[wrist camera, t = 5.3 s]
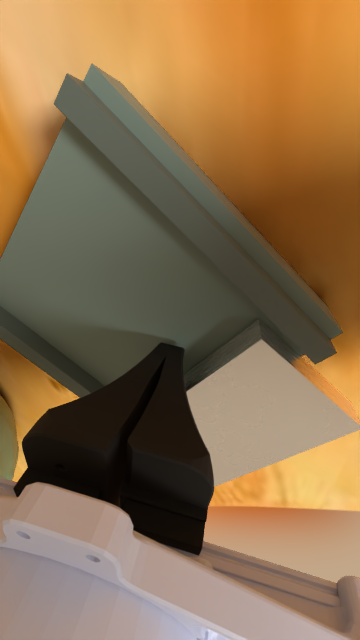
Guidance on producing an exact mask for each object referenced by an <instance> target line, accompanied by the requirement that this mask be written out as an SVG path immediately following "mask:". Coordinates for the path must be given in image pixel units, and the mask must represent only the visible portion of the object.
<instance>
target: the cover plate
mask: <svg viewBox="0 0 360 640" xmlns="http://www.w3.org/2000/svg"><path fill="white" fill-rule="evenodd" d="M184 382H185V388H186V393H187V398H188V401H189V405H190V408H191V412H192V415H193V417H194V420H195V423H196V425H197V428H198V430H199V433H200V435H201V437H202V439H203V441H204V444H205V446H206V447H207V449H208V451H209V453H210V457H211V462H212V468H213V476H214V487H215V486H217V485H220V484H222V483H225V482H227V481H230V480H233V479H235V478H238V477H240V476H243V475H245V474H248V473H250V472H253V471H255V470H258V469H261V468H263V467H266V466H268V465H271V464H273V463H276V462H278V461H281V460H284V459H286V458H289V457H291V456H294V455H296V454H299V453H301V452H304V451H307V450H309V449H312V448H314V447H317V446H319V445H322V444H324V443H327V442H330V441H332V440H335V439H337V438H340V437H342V436H345V435H347V434H350V433H353V432H355V431H358V430H360V420H359V418H358V416H357V414H356V412H355V410H354V408H353V406H352V403H351V401H349V400H348V399H347V398H346V397H345V396H344V395H343V394H342V393H341V392H339V391H338V390H337V389H336V388H335V387H334V386H333V385H332V384H331V383H329V382H328V381H327V380H326V379H325V378H324V377H323V376H322V375H321V374H319V373H318V372H317V371H316V370H315V369H314V368H313V367H312V366H311V365H310V364H308V363H307V362H306V361H305V360H304V359H303V358H302V357H301V356H300V355H298V354H297V353H296V352H295V351H294V350H293V349H292V348H291V347H290V346H288V345H287V344H286V343H285V342H284V341H283V340H282V339H281V338H280V337H278V336H277V335H276V334H275V333H274V332H273V331H272V330H271V329H270V328H268V327H267V326H266V325H265V324H264V323H263V322H262V321H261V320H260V319H257V320H256V321H255V322H253V323H252V324H251V325H249V326H248V327H247V328H245V329H244V330H243V331H242V332H240V333H239V334H238V335H236V336H235V337H234V338H232V339H231V340H230V341H228V342H227V343H226V344H224V345H223V346H222V347H220V348H219V349H218V350H216V351H215V352H214V353H212V354H211V355H210V356H208V357H207V358H206V359H204V360H203V361H202V362H200V363H199V364H198V365H196V366H195V367H194V368H192V369H191V370H190V371H188V372H187V373H186V374H184Z"/></svg>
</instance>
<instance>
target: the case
mask: <svg viewBox="0 0 360 640" xmlns="http://www.w3.org/2000/svg"><path fill="white" fill-rule="evenodd" d="M54 105H55V106H56V107H57V108H58V109H59V110H60V111H61V112H62V113H63V114H64V115H65V116H66V120H65V122H64V124H63V126H62V128H61V130H60V132H59V135H58V137H57V139H56V141H55V143H54V145H53V147H52V150H51V152H50V154H49V156H48V158H47V160H46V162H45V165H44V167H43V169H42V171H41V173H40V175H39V177H38V179H37V182H36V184H35V186H34V188H33V190H32V192H31V194H30V197H29V199H28V201H27V203H26V205H25V207H24V209H23V212H22V214H21V216H20V218H19V220H18V222H17V224H16V227H15V229H14V231H13V233H12V235H11V237H10V239H9V242H8V244H7V246H6V248H5V250H4V252H3V254H2V257H1V259H0V339H1V340H2V341H4V342H5V343H7V344H8V345H9V346H11V347H12V348H13V349H15V350H16V351H17V352H19V353H20V354H21V355H23V356H24V357H26V358H27V359H28V360H30V361H31V362H32V363H34V364H35V365H36V366H38V367H39V368H40V369H42V370H43V371H44V372H46V373H47V374H49V375H50V376H51V377H53V378H54V379H55V380H57V381H58V382H59V383H61V384H62V385H63V386H65V387H66V388H68V389H69V390H70V391H72V392H73V393H74V394H76V395H77V396H78V397H80V398H82V397H84V396H86V395H88V394H91V393H93V392H95V391H97V390H99V389H100V388H102V387H104V386H106V385H108V384H109V383H111V382H113V381H114V380H116V379H117V378H119V377H120V376H122V375H123V374H125V373H126V372H127V371H129V370H130V369H131V368H133V367H134V366H135V365H137V364H138V363H139V362H140V361H141V360H142V359H144V358H145V357H146V356H147V355H148V354H149V353H150V352H151V351H152V350H153V349H154V348H155V347H156V346H157V345H158V344H159V343H161V342H162V343H166V344H170V345H174V346H179V347H183V348H184V349H185V352H184V357H183V373H184V374H186V373H187V372H188V371H190V370H191V369H192V368H194V367H195V366H196V365H198V364H199V363H200V362H202V361H203V360H204V359H206V358H207V357H208V356H210V355H211V354H212V353H214V352H215V351H216V350H218V349H219V348H220V347H222V346H223V345H224V344H226V343H227V342H228V341H230V340H231V339H232V338H234V337H235V336H236V335H238V334H239V333H240V332H242V331H243V330H244V329H245V328H247V327H248V326H249V325H251V324H252V323H253V322H255V321H256V320H257V319H260V320H261V321H262V322H263V323H264V324H265V325H266V326H267V327H268V328H270V329H271V330H272V331H273V332H274V333H275V334H276V335H277V336H278V337H280V338H281V339H282V340H283V341H284V342H285V343H286V344H287V345H288V346H290V347H291V348H292V349H293V350H294V351H295V352H296V353H297V354H298V355H300V356H303V355H307V356H308V357H309V358H310V359H311V360H312V361H313V362H314V363H315V364H317V363H319V362H321V361H323V360H324V359H326V358H328V357H330V356H332V355H334V354H336V353H337V352H336V350H335V348H334V346H333V344H332V342H331V339H332V338H334V337H336V336H338V335H339V334H341V333H343V331H342V330H341V328H340V326H339V325H338V323H337V321H336V320H335V318H334V316H333V314H332V313H331V311H330V309H329V308H328V306H327V305H326V304H325V303H324V302H323V301H322V300H321V299H320V298H319V296H318V295H317V294H316V293H315V292H314V291H313V290H312V289H311V288H310V287H309V286H308V285H307V284H306V282H305V281H304V280H303V279H302V278H301V277H300V276H299V275H298V274H297V273H296V272H295V271H294V269H293V268H292V267H291V266H290V265H289V264H288V263H287V262H286V261H285V260H284V259H283V258H282V256H281V255H280V254H279V253H278V252H277V251H276V250H275V249H274V248H273V247H272V246H271V245H270V243H269V242H268V241H267V240H266V239H265V238H264V237H263V236H262V235H261V234H260V233H259V232H258V230H257V229H256V228H255V227H254V226H253V225H252V224H251V223H250V222H249V221H248V220H247V219H246V218H245V216H244V215H243V214H242V213H241V212H240V211H239V210H238V209H237V208H236V207H235V206H234V205H233V203H232V202H231V201H230V200H229V199H228V198H227V197H226V196H225V195H224V194H223V193H222V192H221V190H220V189H219V188H218V187H217V186H216V185H215V184H214V183H213V182H212V181H211V180H210V179H209V177H208V176H207V175H206V174H205V173H204V172H203V171H202V170H201V169H200V168H199V167H198V166H197V164H196V163H195V162H194V161H193V160H192V159H191V158H190V157H189V156H188V155H187V154H186V153H185V152H184V150H183V149H182V148H181V147H180V146H179V145H178V144H177V143H176V142H175V141H174V140H173V139H172V137H171V136H170V135H169V134H168V133H167V132H166V131H165V130H164V129H163V128H162V127H161V126H160V124H159V123H158V122H157V121H156V120H155V119H154V118H153V117H152V116H151V115H150V114H149V113H148V111H147V110H146V109H145V108H144V107H143V106H142V105H141V104H140V103H139V102H138V101H137V100H136V98H135V97H134V96H133V95H132V94H131V93H130V92H129V91H128V90H127V89H126V88H125V87H124V86H123V84H122V83H121V82H119V81H118V80H116V79H115V78H113V77H111V76H110V75H108V74H107V73H105V72H104V71H102V70H101V69H99V68H98V67H96V66H95V65H93V64H91V66H90V68H89V70H88V72H87V75H86V77H85V79H84V81H81V80H79V79H77V78H75V77H73V76H71V75H69V74H66V77H65V79H64V81H63V84H62V86H61V88H60V91H59V93H58V95H57V98H56V100H55V102H54Z"/></svg>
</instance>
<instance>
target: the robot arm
mask: <svg viewBox="0 0 360 640" xmlns="http://www.w3.org/2000/svg"><path fill="white" fill-rule="evenodd" d="M184 352H185V349H184V348H183V347H179V346H174V345H170V344H166V343H162V342H161V343H159V344H158V345H157V346H156V347H155V348H154V349H153V350H152V351H151V352H150V353H149V354H148V355H147V356H146V357H145V358H144V359H142V360H141V361H140V362H139V363H138V364H137V365H135V366H134V367H133V368H131V369H130V370H129V371H127V372H126V373H125V374H123V375H122V376H120V377H119V378H117V379H116V380H114V381H113V382H111V383H109V384H108V385H106V386H104V387H102V388H100V389H99V390H97V391H95V392H93V393H91V394H88V395H86V396H84V397H82V398H79V399H77V400H74V401H72V402H69V403H66V404H63V405H60V406H57V407H54V408H51V409H49V410H48V411H47V412H46V413H45V414H44V415H43V416H42V417H41V418H40V419H39V420H38V421H37V422H36V423H35V425H34V426H33V427H32V428H31V430H30V431H29V432H28V433H27V435H26V436H25V437H24V439H23V441H22V448H23V452H24V455H25V459H26V462H27V465H28V468H27V470H26V471H25V472H24V474H23V475H22V477H21V478H20V479H19V481H18V482H14V481H11V480H8V479H5V478H1V477H0V640H360V578H359V577H354V576H345V577H342V578H341V579H340V580H339V581H338V582H337V583H334V582H331V581H328V580H325V579H321V578H319V577H315V576H312V575H309V574H306V573H302V572H299V571H296V570H293V569H290V568H287V567H283V566H280V565H277V564H274V563H271V562H268V561H264V560H261V559H258V558H255V557H252V556H248V555H246V554H242V553H239V552H236V551H233V550H229V549H226V548H223V547H220V546H217V545H214V544H210V543H207V542H204V541H203V537H204V528H205V522H206V519H207V510H208V506H209V503H210V501H211V498H212V496H213V492H214V476H213V468H212V462H211V457H210V453H209V451H208V449H207V447H206V446H205V444H204V441H203V439H202V437H201V435H200V433H199V430H198V428H197V425H196V423H195V420H194V417H193V415H192V412H191V408H190V405H189V401H188V398H187V393H186V388H185V382H184V373H183V357H184Z"/></svg>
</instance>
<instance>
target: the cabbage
mask: <svg viewBox="0 0 360 640" xmlns="http://www.w3.org/2000/svg"><path fill="white" fill-rule="evenodd" d="M18 451H19V447H18V441H17V431H16V425H15V420H14V416H13V414H12V411H11V409H10V408H9V406H8V405H7V403H6V402H5V400H4V399H3V398H2V396H1V395H0V477H1V478H5V479H8V480H11V481H12V479H13V477H14V471H15V468H16V464H17V459H18Z"/></svg>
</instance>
